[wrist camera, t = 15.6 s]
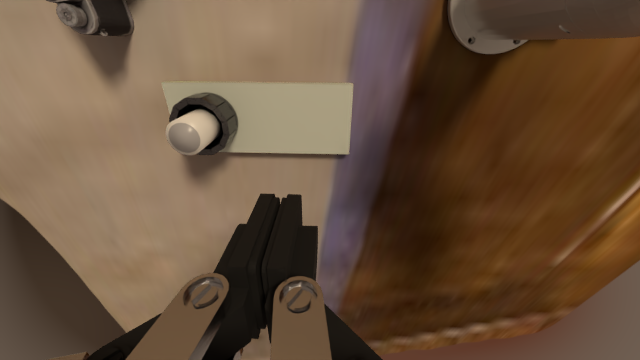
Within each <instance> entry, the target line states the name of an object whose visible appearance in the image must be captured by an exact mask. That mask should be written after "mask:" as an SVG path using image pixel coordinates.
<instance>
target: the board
mask: <svg viewBox="0 0 640 360" xmlns="http://www.w3.org/2000/svg"><path fill="white" fill-rule="evenodd" d="M162 87H163V91H164V94H165V98H166V102H167V106H168V109H169V113H170V115H171V111H172V108H173V106H174V105H175V104H177V103H178V102H179V101H181V100H182V99H184V98H186V97H188V96H191V95H194V94H197V93H203V92H209V93H214V94H217V95H219V96H221V97H223V98H225V99H226V100H227V101H228V102H229V103H230V104H231V105H232V107H233V108H234V110H235V112H236V114H237V117H238V130H237V133H236V135H235V136H234V138H233V139H232V141H231V142H230V143H229V144H228V145H227V146H226V147H225V148H224V149H222V150H221V151H219V152H242V153H300V154H349V145H350V129H351V113H352V97H353V83H304V82H202V81H166V82H162Z"/></svg>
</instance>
